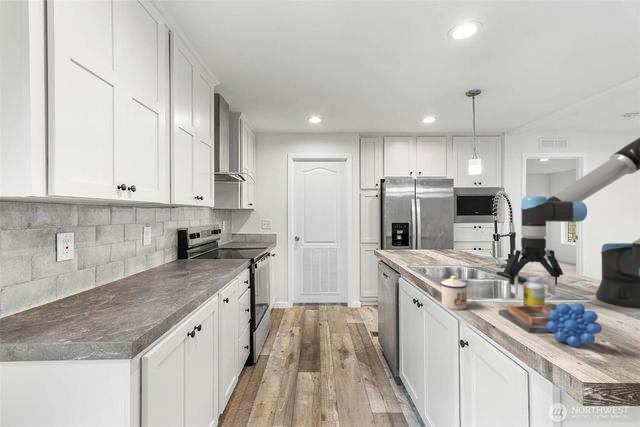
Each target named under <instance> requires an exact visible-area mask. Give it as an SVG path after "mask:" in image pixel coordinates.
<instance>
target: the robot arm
mask: <svg viewBox="0 0 640 427" xmlns="http://www.w3.org/2000/svg"><path fill="white" fill-rule="evenodd" d="M638 171H640V137H638V138H637V139H636V138H635V140H632V142H630V143H628V144H627V145H625V146H624V147H623V148H622V147H621V149H618V150H617V151H615V153H613V154H612V155H610V156H609V159H608V160H607V161H606V162H603V163H602V164H601V165H599V166H598V167H596V168H594V169H593V170H592V171H590V172H588V173H587V174H585V175H584V176H582V177H580V178H579V179H577V180H575V181H574V182H573V183H571V184H569V185H568V186H566V187H565V188H563V189H561V190H559V191H558V192H557V193H555V194H553V195H551V197H549V198H547V197H546V196H545V195H535V196H534V195H530V196H528V195H527V196H523V198H522V199H521V200H522V201H521V205H520V206H521V207H520V209H521V230H520V231H521V236H522V237H521V239H520V240H521V241H520V242H521V243H520V246H521V250H518V249H516V248H515V249H513V250H512V254H511V257H510V258H509V261H508V263H507V264H506V266H505V268H504V270H503V274H506V275H508V276H509V277H508V279H509V280H508V281H509V282H508V283H509V285H511V288H510V290H511V291H510V292H511V293H512V294H515V295H518V293H519V292H518V291H519V287H518V286H519V276H518V274H519V272H520V271H522V269H523V268H524V267H525V266H526V265H527V264H528V263H540V264H541V266H542V267H543V268H544V269H545V270H546V271H547V272H548V274H549V275H547V293H548V294H551V295H556V286H557V285H558V278H560V277H561V276H563V275H564V271H563V270H562V268H561V266H560V264H559V262H558V260H557V259H556V254H555V250H551V249H546V247H547V238H546V237H547V222H559V223H560V222H561V223H564V222H565V223H566V222H567V223H568V222H569V223H577V222H582V221H584V220H586V218H587V215H588V207H587V205H586V203H584V202H583V201H584V200H587V198H589V197H592V195H594V194H596V193H598V192H599V191H601V190H602V189H605V188H606V187H608V186H610V185H611V184H613V183H614V182H615V181H617V180H619V179H621V178H622V177H624V176H626V175H632V174H634V173H636V172H638ZM600 254H601V281H600V284H599V285H598V289H597V290H596V292H595V298H596V300H598V301H600V302H603V303H607V304H609V305H610V304H611V305H615V306H622V307H626V308H640V237H639V238H638V239H636V240H634V241H632V243H628V242H627V243H626V242H625V243H621V242H620V243H615V242H613V243H611V242H610V243H604V244H602V246H601V252H600ZM545 256H546V257H547V259H548V260H547V259H546V258H545ZM548 261H549V262H548Z"/></svg>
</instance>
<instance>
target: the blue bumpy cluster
mask: <svg viewBox="0 0 640 427" xmlns="http://www.w3.org/2000/svg"><path fill="white" fill-rule="evenodd" d="M547 317H548V319H549V320H551V321H549V322H548V323H547V324H546V328H547V329H548V330H549V331H552V332H555V331H556V332H555V333H553V338H554V339H555V341H557V342H561V343H562V342H567V344H568V345H569V346H571V347H575V348H576V347H579V346H580V345H581V344H582V343H583V344H586V345H589V344H593V343H594V342H596V336H595V335H598V334H600V333H601V332H602V330H603V329H602V328H603V326H601V324H600V323H599V322H597V320H598V314H597V313H596V312H595V311H593V310H590V309H589V310H586V307H585V306H584V305H583V304H582V303H579V302H576V303H572V304H571V305H569V304H567V303H565V302H560V303H559V304H557V306H556V310H555V309H552V311H549V312H548V314H547Z"/></svg>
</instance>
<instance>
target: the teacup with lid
mask: <svg viewBox="0 0 640 427" xmlns="http://www.w3.org/2000/svg"><path fill="white" fill-rule="evenodd" d="M440 286H441V306H442V307H443V308H446V309H448V310H453V311H454V310H455V311H462V310H466V308H467V287H468V285H467V283H466V282H465V281H462V280H461V279H458V278H457V276H456V275H450V278H447V279H444V280H442V281H441V282H440Z"/></svg>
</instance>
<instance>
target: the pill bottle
mask: <svg viewBox="0 0 640 427" xmlns="http://www.w3.org/2000/svg"><path fill="white" fill-rule="evenodd" d="M525 280H526V281H525V282H524V283H523V284H522V285H523V305H544V306H546V303H545V302H546V300H545V297H546V296H545V293H546V292H545V288H546V287H545V285H544V283H541V282H542V281H543V280H542V277H541V276H538V275H534V274H533V275H530V274H527V275H525Z"/></svg>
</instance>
